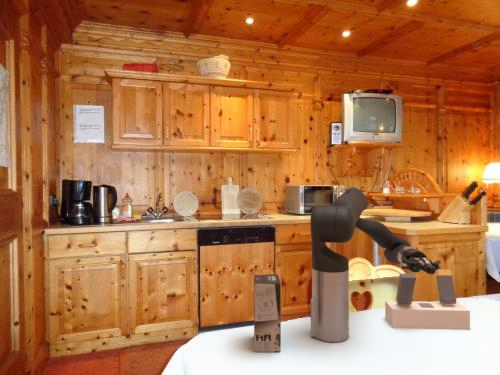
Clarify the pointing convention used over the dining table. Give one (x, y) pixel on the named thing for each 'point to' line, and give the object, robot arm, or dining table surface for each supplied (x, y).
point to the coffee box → (267, 313)
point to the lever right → (445, 287)
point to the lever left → (405, 289)
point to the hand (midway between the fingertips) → (432, 270)
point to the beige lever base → (427, 315)
